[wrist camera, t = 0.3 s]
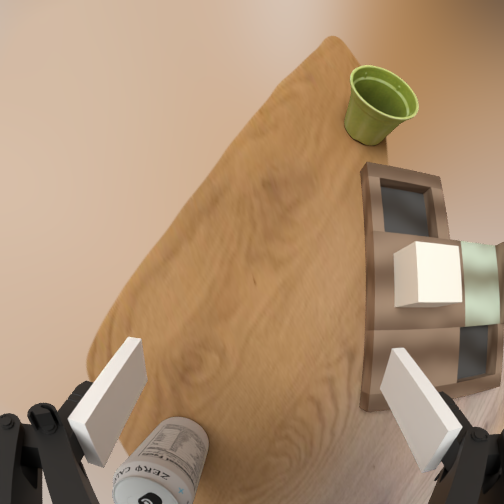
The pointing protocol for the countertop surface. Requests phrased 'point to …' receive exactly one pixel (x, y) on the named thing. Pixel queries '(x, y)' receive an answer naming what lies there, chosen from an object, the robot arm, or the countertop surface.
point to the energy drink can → (163, 465)
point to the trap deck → (427, 318)
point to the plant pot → (377, 104)
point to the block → (427, 275)
